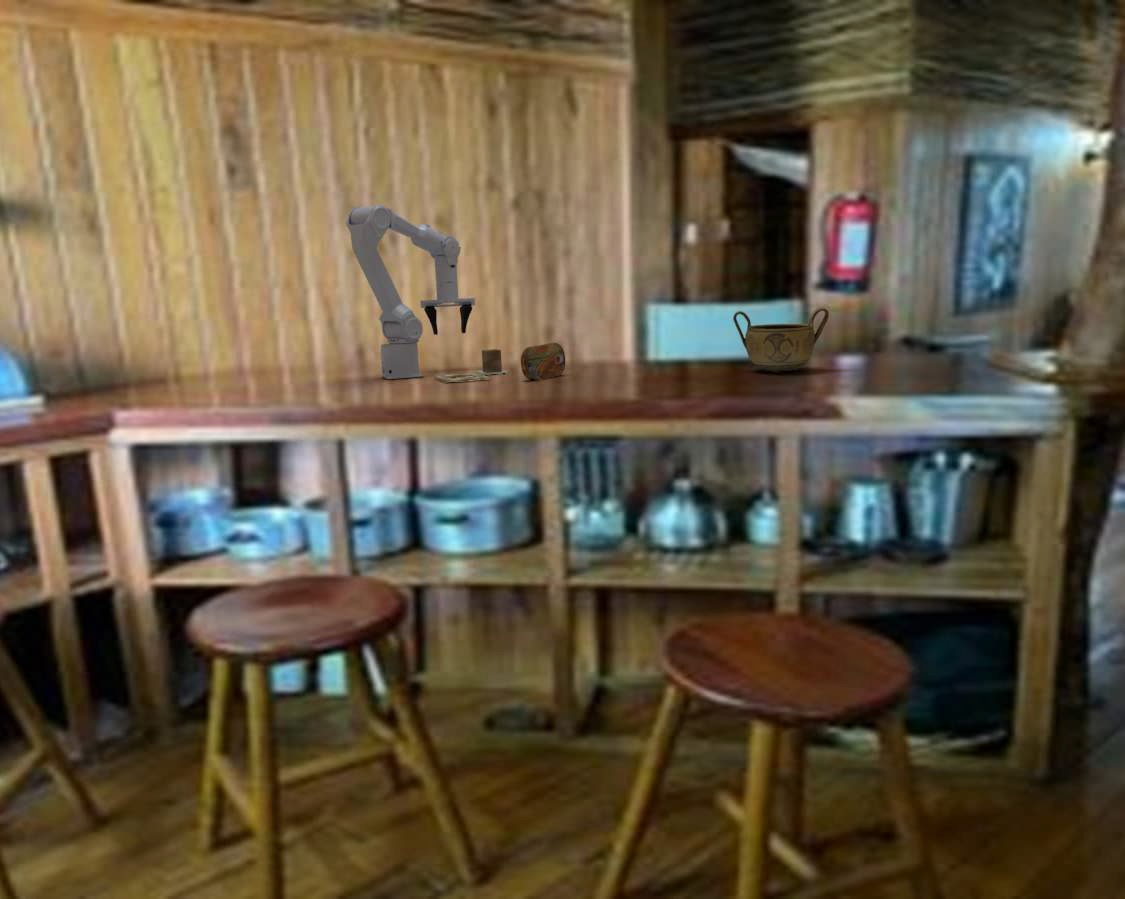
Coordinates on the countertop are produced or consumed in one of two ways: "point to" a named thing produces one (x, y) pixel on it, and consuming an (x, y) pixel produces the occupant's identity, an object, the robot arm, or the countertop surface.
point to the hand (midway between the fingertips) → (449, 333)
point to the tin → (543, 361)
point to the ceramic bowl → (780, 343)
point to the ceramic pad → (491, 372)
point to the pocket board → (448, 378)
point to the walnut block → (491, 360)
